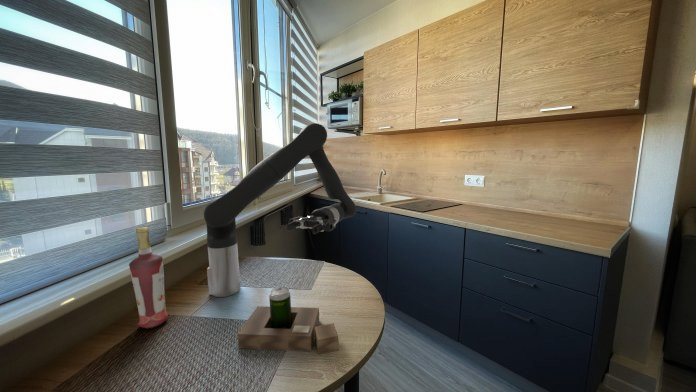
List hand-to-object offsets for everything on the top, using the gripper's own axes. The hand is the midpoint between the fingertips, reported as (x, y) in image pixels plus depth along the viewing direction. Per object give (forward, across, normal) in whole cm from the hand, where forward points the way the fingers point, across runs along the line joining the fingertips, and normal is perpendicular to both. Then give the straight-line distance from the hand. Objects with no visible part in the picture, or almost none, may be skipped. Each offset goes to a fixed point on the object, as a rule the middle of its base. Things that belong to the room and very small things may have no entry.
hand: (300, 228), depth 76 cm
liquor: (+20, -36, +27) cm, 50 cm away
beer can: (+10, 0, +26) cm, 28 cm away
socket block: (+11, +1, +26) cm, 28 cm away
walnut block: (+10, +14, +26) cm, 31 cm away
